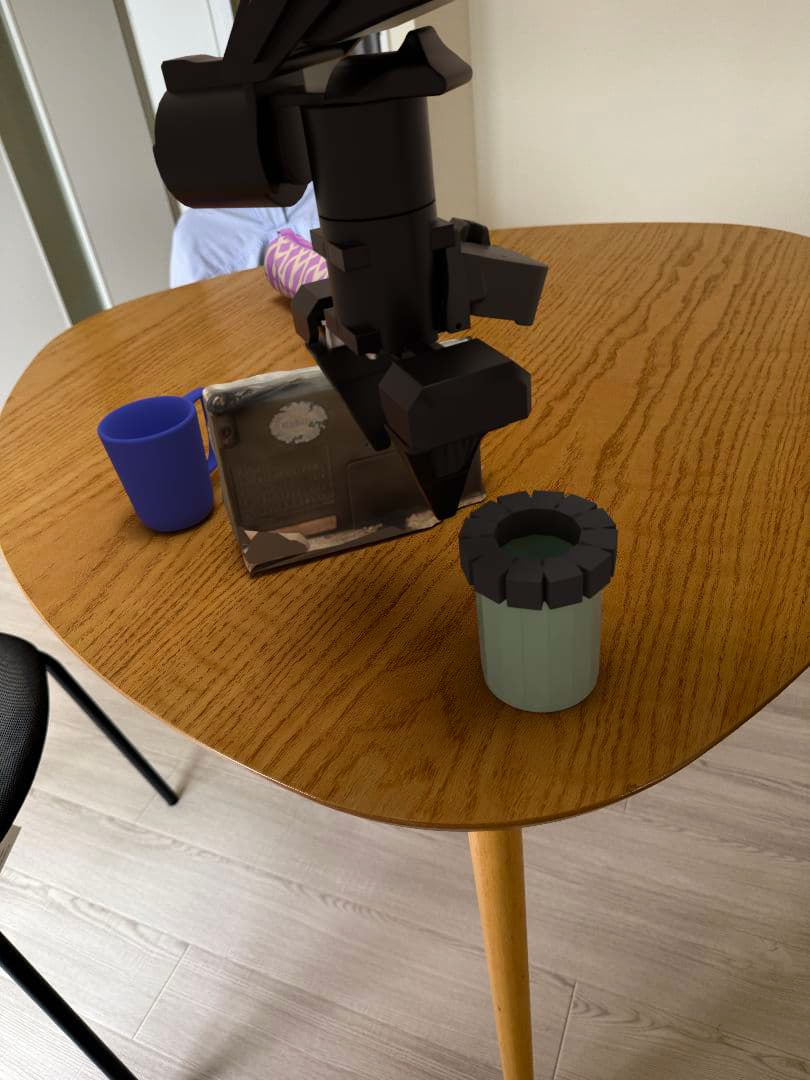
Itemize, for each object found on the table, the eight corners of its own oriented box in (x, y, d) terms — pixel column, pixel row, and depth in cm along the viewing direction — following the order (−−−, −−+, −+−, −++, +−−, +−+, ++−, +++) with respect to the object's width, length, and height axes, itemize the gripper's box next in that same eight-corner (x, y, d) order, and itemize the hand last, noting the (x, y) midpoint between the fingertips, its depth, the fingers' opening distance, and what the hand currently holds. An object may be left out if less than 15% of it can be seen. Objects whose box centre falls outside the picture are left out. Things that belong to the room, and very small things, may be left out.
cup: (572, 620, 54) (573, 513, 49) (617, 696, 48) (625, 584, 43) (469, 644, 53) (459, 538, 48) (502, 725, 47) (496, 614, 42)
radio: (483, 465, 72) (473, 307, 63) (517, 513, 65) (511, 344, 57) (233, 524, 69) (186, 366, 60) (241, 582, 62) (190, 413, 53)
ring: (578, 504, 50) (579, 478, 48) (643, 588, 42) (645, 559, 41) (445, 535, 49) (442, 508, 47) (488, 625, 41) (486, 597, 40)
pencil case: (403, 315, 106) (394, 244, 101) (348, 337, 102) (335, 264, 96) (314, 285, 121) (302, 222, 116) (263, 304, 117) (248, 239, 111)
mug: (264, 476, 75) (240, 380, 69) (187, 548, 67) (152, 446, 61) (197, 465, 78) (168, 373, 73) (115, 533, 70) (75, 434, 64)
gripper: (638, 203, 32) (620, 512, 42) (441, 150, 47) (460, 389, 56) (394, 264, 29) (432, 582, 39) (263, 188, 44) (314, 433, 53)
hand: (411, 480), depth 47 cm, fingers open, 9 cm apart
